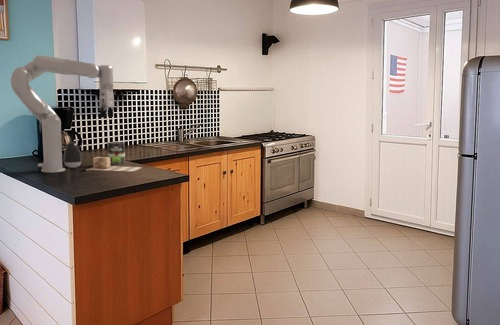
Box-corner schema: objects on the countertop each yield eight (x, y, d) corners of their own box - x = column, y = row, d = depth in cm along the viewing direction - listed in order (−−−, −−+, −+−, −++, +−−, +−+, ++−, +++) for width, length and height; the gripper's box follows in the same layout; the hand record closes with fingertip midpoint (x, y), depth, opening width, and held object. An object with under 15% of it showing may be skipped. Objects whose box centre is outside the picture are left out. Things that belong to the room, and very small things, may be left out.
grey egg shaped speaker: (63, 166, 271) (62, 141, 269) (81, 165, 274) (81, 140, 272) (62, 168, 261) (61, 142, 259) (81, 168, 265) (81, 142, 263)
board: (86, 171, 253) (86, 169, 253) (97, 167, 268) (97, 165, 268) (134, 173, 250) (133, 171, 250) (143, 169, 265) (143, 167, 265)
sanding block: (93, 168, 258) (93, 157, 257) (97, 167, 263) (97, 156, 262) (106, 168, 257) (106, 158, 256) (110, 167, 262) (110, 157, 261)
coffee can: (125, 166, 275) (124, 143, 273) (107, 166, 272) (107, 143, 270) (125, 164, 285) (124, 141, 283) (108, 164, 282) (107, 142, 280)
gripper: (106, 87, 248) (106, 118, 250) (118, 87, 265) (119, 116, 267) (93, 86, 249) (94, 117, 251) (106, 87, 266) (107, 116, 268)
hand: (106, 117), depth 259 cm, fingers open, 9 cm apart
